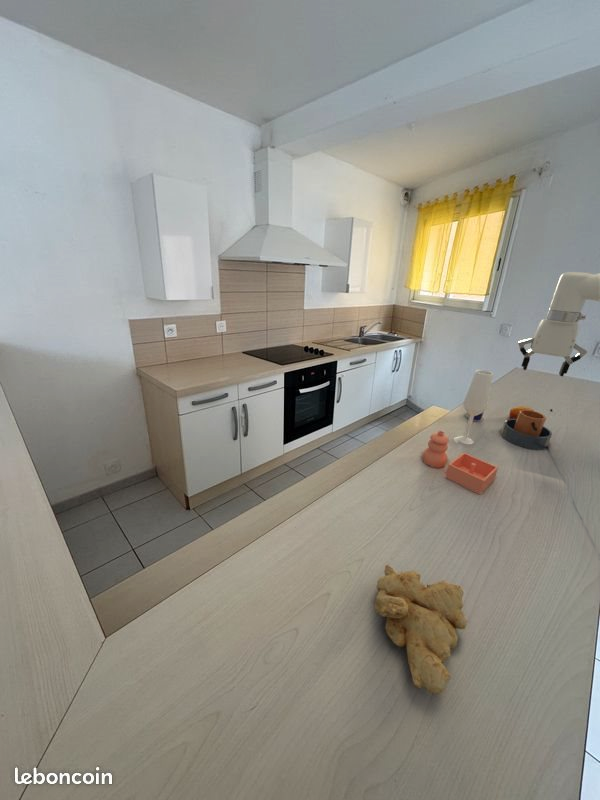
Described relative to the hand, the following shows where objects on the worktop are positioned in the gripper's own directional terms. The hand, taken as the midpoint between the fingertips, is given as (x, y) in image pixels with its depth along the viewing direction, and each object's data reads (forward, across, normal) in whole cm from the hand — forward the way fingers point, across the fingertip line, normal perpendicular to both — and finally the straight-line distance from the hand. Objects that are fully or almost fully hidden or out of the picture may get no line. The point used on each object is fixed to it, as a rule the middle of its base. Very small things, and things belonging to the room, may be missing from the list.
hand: (542, 372), depth 102 cm
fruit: (+24, -1, -12) cm, 26 cm away
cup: (+23, -1, +5) cm, 23 cm away
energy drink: (+24, +15, -5) cm, 28 cm away
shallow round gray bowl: (+23, -1, +3) cm, 24 cm away
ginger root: (+24, +18, +85) cm, 90 cm away
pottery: (+24, +17, +36) cm, 46 cm away
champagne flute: (+24, +16, +16) cm, 32 cm away
